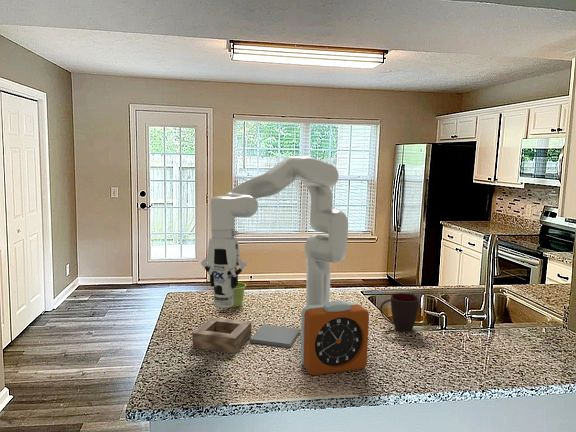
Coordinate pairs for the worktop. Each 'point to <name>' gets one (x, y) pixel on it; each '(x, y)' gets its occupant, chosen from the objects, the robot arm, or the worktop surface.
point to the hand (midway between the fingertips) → (224, 286)
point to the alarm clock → (334, 337)
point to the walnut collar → (222, 335)
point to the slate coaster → (275, 335)
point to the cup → (403, 310)
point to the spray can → (222, 281)
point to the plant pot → (239, 294)
